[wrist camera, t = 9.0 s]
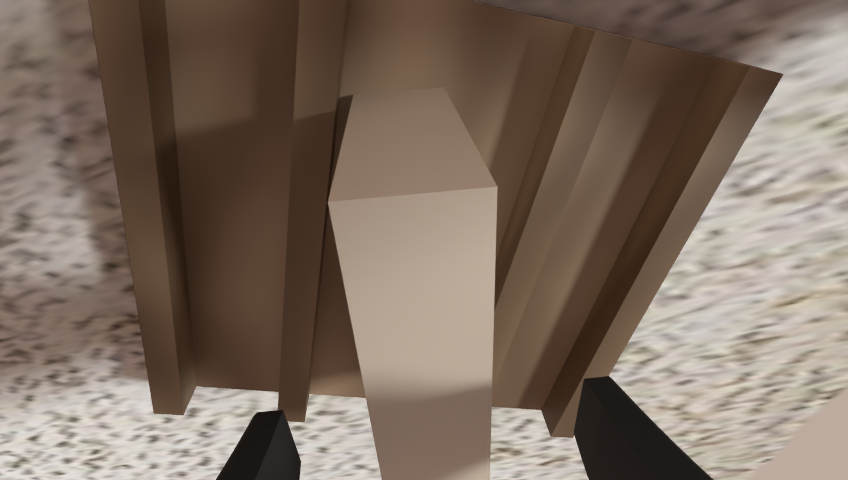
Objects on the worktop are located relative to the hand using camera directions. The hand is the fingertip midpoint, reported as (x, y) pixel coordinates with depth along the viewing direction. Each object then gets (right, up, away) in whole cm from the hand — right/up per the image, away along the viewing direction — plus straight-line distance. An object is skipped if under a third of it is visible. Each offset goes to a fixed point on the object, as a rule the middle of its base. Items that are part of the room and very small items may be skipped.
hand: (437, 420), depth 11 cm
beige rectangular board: (-1, +4, +7) cm, 8 cm away
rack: (-1, +5, +8) cm, 9 cm away
